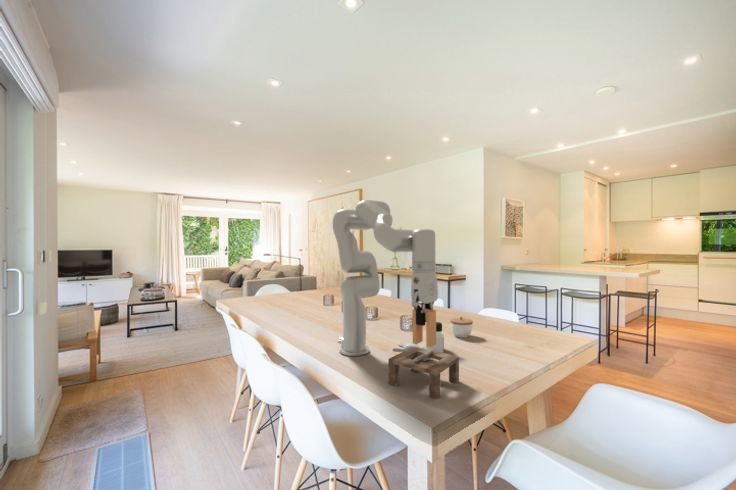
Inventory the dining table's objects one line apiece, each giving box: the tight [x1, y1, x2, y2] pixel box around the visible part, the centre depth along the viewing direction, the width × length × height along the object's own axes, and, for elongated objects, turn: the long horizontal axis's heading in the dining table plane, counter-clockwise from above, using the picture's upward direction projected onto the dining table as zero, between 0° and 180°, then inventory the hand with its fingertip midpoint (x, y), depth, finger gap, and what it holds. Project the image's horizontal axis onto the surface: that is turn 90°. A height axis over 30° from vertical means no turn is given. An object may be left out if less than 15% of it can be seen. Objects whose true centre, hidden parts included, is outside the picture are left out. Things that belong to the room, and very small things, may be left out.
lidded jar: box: [449, 316, 474, 338], centre depth 159 cm, size 11×11×9 cm
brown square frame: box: [388, 347, 460, 400], centre depth 105 cm, size 17×16×9 cm
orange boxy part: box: [412, 308, 437, 347], centre depth 105 cm, size 6×4×11 cm, turn 51°
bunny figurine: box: [392, 342, 432, 363], centre depth 129 cm, size 10×5×15 cm
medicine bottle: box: [425, 321, 445, 353], centre depth 137 cm, size 7×7×12 cm
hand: (424, 322), depth 105 cm, fingers closed on orange boxy part, 4 cm apart
